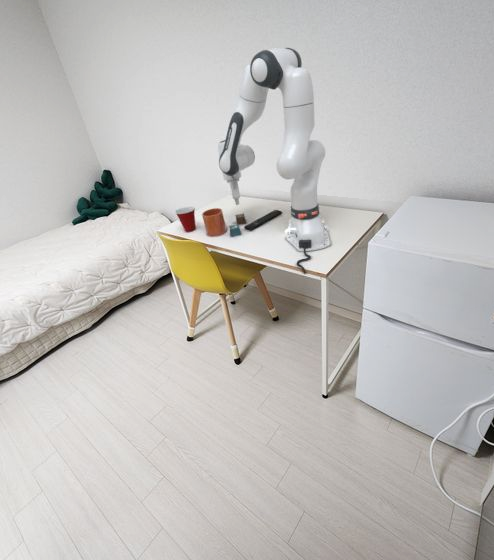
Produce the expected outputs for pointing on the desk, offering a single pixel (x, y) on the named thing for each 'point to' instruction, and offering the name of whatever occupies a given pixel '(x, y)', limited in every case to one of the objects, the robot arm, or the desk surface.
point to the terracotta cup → (214, 222)
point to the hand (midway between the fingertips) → (236, 201)
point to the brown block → (240, 219)
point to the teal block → (234, 230)
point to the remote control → (262, 220)
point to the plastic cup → (187, 218)
